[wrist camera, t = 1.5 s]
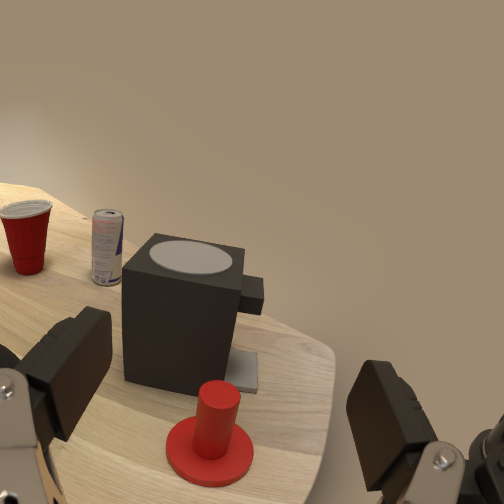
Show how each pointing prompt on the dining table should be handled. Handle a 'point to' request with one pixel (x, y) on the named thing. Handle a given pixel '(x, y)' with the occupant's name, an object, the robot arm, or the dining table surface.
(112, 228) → the energy drink
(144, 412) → the dining table surface
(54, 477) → the robot arm
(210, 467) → the red lid
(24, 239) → the plastic cup
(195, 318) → the coffee maker
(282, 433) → the dining table surface
